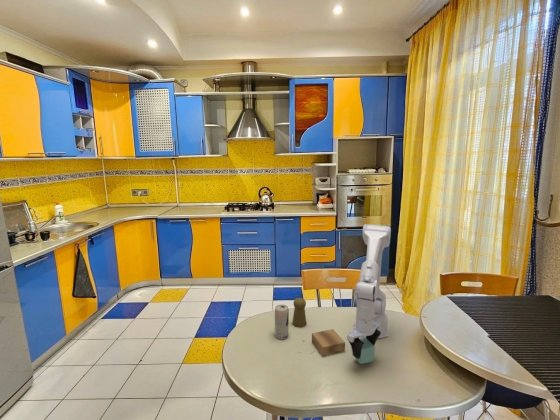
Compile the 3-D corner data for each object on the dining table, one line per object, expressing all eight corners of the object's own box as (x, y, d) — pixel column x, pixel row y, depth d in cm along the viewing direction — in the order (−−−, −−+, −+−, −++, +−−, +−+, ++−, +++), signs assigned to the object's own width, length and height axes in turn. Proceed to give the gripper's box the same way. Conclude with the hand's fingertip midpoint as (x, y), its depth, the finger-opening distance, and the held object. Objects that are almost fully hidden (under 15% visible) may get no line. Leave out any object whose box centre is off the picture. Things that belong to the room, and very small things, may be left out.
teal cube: (364, 351, 107) (365, 337, 106) (374, 360, 102) (374, 346, 101) (352, 354, 105) (352, 340, 104) (360, 364, 100) (361, 349, 99)
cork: (305, 328, 125) (306, 303, 123) (291, 326, 126) (291, 302, 124) (307, 320, 131) (307, 296, 129) (293, 319, 132) (293, 295, 130)
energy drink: (290, 333, 121) (290, 305, 119) (286, 341, 116) (286, 312, 114) (277, 331, 123) (277, 303, 121) (272, 338, 118) (272, 309, 116)
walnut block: (332, 338, 118) (333, 329, 118) (344, 352, 110) (345, 342, 109) (311, 343, 116) (311, 333, 115) (322, 357, 107) (322, 347, 106)
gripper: (369, 305, 108) (367, 339, 110) (340, 317, 100) (339, 355, 102) (386, 313, 102) (383, 349, 105) (357, 327, 94) (356, 366, 96)
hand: (363, 353), depth 103 cm, fingers closed on teal cube, 6 cm apart
